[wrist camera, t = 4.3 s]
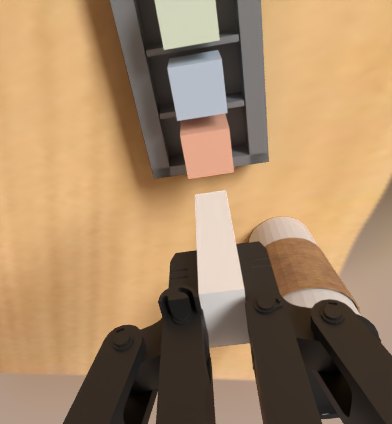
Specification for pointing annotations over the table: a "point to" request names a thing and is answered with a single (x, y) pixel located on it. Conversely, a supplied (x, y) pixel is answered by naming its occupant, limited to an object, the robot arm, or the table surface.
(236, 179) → the table surface
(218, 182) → the table surface
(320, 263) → the coffee cup
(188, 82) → the key slate
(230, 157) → the key terracotta
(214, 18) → the key sage
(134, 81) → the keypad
